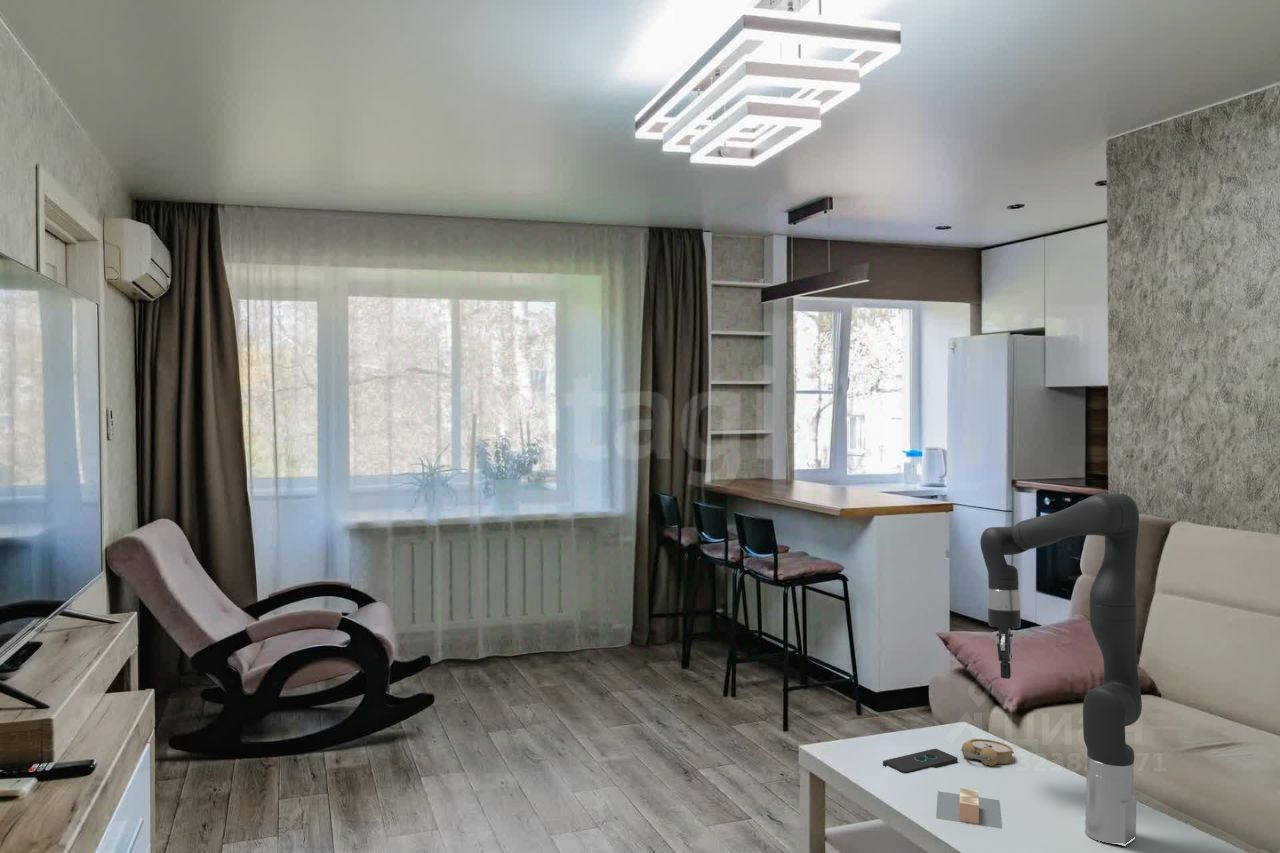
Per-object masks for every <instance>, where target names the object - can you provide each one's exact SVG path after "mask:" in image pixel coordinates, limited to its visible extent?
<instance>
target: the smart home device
mask: <svg viewBox="0 0 1280 853" xmlns="http://www.w3.org/2000/svg"><path fill="white" fill-rule="evenodd" d="M958 761H959V760H958V757H957V756H955V755H953V754H950V753H947V752H945V751H943V750H941V749H938V748H930V749H927V750H922V751H918V752H914V753H911V754H906V755H901V756H897V757H894V758H889V759H885V760H883V761H882V766H883V767H884V766H885V768H887V767H889V768H891V769H894V770H896V771H897V772H899V773H902V774H910V773H913V772H914V773H915V772H919V771H924V770H927V769H930V768H933V769H938V768H941V767H945V766H946V767H947V766H949V764H950V765H954V764H957V763H958ZM953 763H954V764H953Z"/></svg>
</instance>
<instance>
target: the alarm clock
mask: <svg viewBox="0 0 1280 853" xmlns="http://www.w3.org/2000/svg"><path fill="white" fill-rule="evenodd" d="M960 751H961V753H962V756H963V757H964V758H965V759H967V760H973V759H974V760H979V761H981V763H982V764H984V765H985V766H987V765H989V766H988V767H993V766H995V765H997V764H1001V765H1004V764H1010V763H1012V761H1013V754H1015V751H1014V750H1013V748H1012V746H1011V745H1008V744H1006V743H1003V742H999V741H997V740H992V739H985V738H972V739H970V740H967V741H965V742H964V743H963V744H962V746H961V749H960Z"/></svg>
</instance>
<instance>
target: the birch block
mask: <svg viewBox="0 0 1280 853" xmlns="http://www.w3.org/2000/svg"><path fill="white" fill-rule="evenodd" d="M959 794H960V809H959V821H963V822H969V823H976V824H979V800H978V797H979V790H975V789H969V788H961V787H960V788H959ZM963 822H962V823H963ZM969 823H968V824H969ZM976 824H975V825H976Z"/></svg>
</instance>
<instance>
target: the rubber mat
mask: <svg viewBox="0 0 1280 853" xmlns="http://www.w3.org/2000/svg"><path fill="white" fill-rule="evenodd" d="M936 796H937V800H936V815H935V816H936V817H935V819H936V820H937V819H938V820H943V821H944V820H945V821H951V822H958V823H963V824H968V825H969V824H970V825H975V826H976V825H977V826H982V827H990V828H996V829H1003V823H1002V813H1001V804H1000V799H995V798H987V797H980V796H978V800H979V824H976V823H969V822H963V821H959V809H960V793H953V792H944V791H939V790H938V791H937V795H936Z"/></svg>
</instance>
